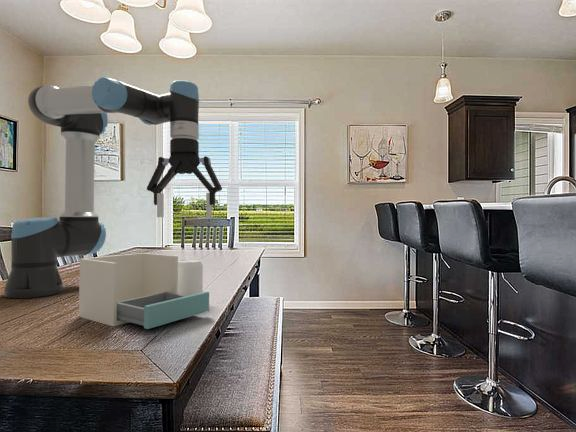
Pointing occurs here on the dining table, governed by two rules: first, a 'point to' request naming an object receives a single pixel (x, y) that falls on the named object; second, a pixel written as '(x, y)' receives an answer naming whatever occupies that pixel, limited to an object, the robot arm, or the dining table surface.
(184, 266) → the beverage can
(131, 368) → the dining table surface
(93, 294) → the white drawer cabinet
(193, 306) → the teal drawer
